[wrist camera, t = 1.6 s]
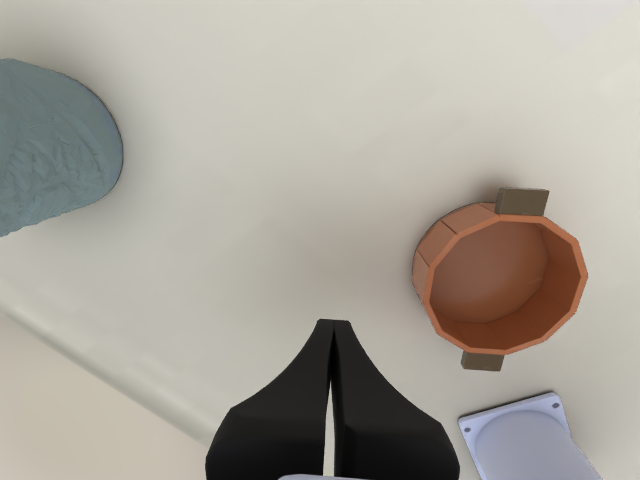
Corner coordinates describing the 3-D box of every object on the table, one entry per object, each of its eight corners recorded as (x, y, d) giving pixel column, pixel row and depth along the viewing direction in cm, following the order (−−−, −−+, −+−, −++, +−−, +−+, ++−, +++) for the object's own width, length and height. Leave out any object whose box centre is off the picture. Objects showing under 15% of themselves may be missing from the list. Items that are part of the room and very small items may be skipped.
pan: (401, 335, 24) (412, 367, 21) (424, 177, 21) (441, 185, 17) (524, 343, 24) (554, 376, 21) (571, 184, 20) (616, 194, 17)
